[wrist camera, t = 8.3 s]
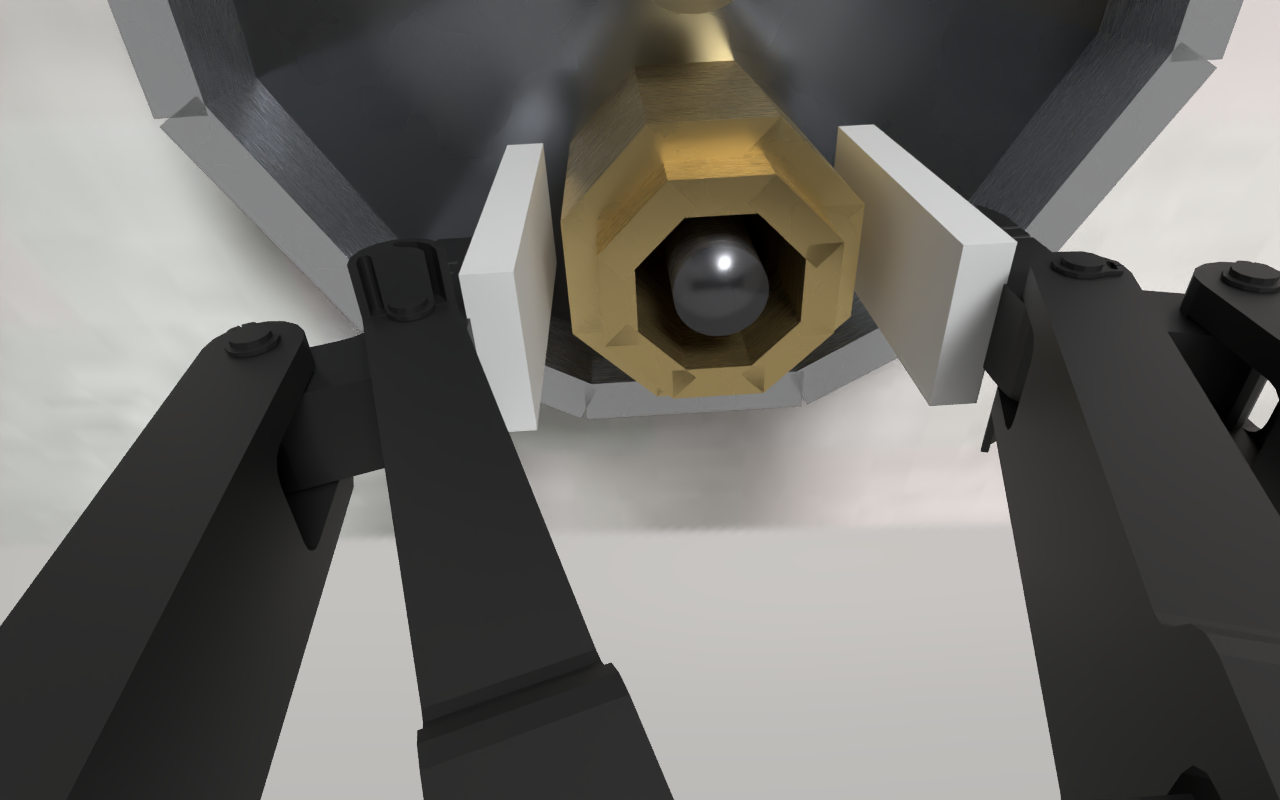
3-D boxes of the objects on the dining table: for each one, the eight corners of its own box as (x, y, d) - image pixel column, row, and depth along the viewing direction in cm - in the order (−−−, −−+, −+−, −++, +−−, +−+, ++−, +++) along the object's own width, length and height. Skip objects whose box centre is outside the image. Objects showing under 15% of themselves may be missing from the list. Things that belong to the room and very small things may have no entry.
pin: (637, 180, 18) (656, 313, 13) (669, 120, 18) (704, 232, 12) (693, 208, 19) (736, 349, 13) (726, 151, 18) (788, 273, 12)
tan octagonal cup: (583, 291, 19) (578, 431, 14) (562, 69, 16) (546, 147, 11) (788, 278, 19) (856, 413, 14) (805, 56, 16) (898, 126, 11)
